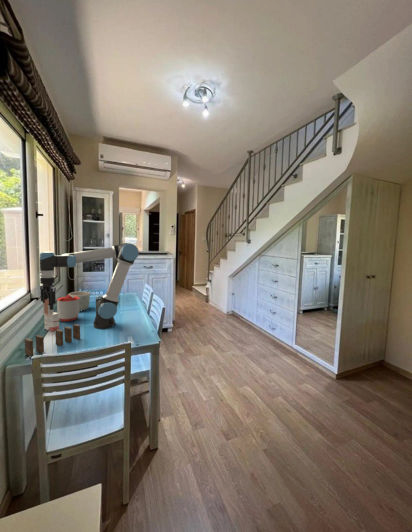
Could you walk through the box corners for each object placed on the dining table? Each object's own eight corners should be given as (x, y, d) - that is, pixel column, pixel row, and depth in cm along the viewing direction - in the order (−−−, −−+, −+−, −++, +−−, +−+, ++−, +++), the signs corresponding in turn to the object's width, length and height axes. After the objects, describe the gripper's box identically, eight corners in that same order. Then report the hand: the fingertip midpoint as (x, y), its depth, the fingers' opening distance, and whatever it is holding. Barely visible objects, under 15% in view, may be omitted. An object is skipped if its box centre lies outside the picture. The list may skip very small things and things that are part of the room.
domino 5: (67, 340, 155) (66, 326, 154) (72, 341, 152) (71, 328, 151) (64, 340, 153) (64, 327, 152) (69, 342, 151) (69, 328, 150)
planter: (69, 308, 220) (69, 291, 219) (90, 306, 227) (90, 290, 226) (67, 313, 205) (67, 296, 203) (90, 312, 212) (89, 294, 211)
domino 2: (39, 349, 140) (38, 334, 139) (44, 352, 138) (43, 336, 137) (36, 351, 139) (35, 335, 138) (41, 353, 136) (40, 337, 135)
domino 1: (28, 353, 135) (27, 338, 134) (33, 356, 133) (32, 340, 132) (25, 354, 134) (24, 339, 133) (30, 357, 131) (29, 341, 130)
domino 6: (75, 337, 159) (75, 323, 158) (80, 338, 157) (79, 325, 156) (73, 338, 158) (72, 324, 157) (77, 339, 156) (77, 326, 155)
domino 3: (47, 313, 155) (47, 299, 154) (52, 314, 152) (51, 300, 151) (44, 313, 153) (44, 299, 152) (49, 315, 151) (48, 300, 150)
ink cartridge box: (59, 329, 172) (59, 308, 170) (53, 331, 167) (52, 310, 165) (51, 327, 175) (50, 307, 173) (44, 329, 170) (43, 308, 168)
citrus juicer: (81, 315, 203) (81, 291, 201) (77, 322, 187) (77, 296, 185) (60, 316, 198) (60, 292, 196) (54, 323, 182) (53, 297, 180)
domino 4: (58, 343, 150) (58, 329, 149) (63, 345, 147) (62, 330, 146) (55, 344, 148) (55, 329, 147) (60, 346, 146) (60, 331, 145)
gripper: (33, 275, 151) (34, 312, 154) (49, 279, 142) (49, 318, 145) (46, 274, 158) (46, 309, 160) (62, 277, 149) (62, 314, 151)
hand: (48, 313), depth 153 cm, fingers closed on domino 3, 5 cm apart
